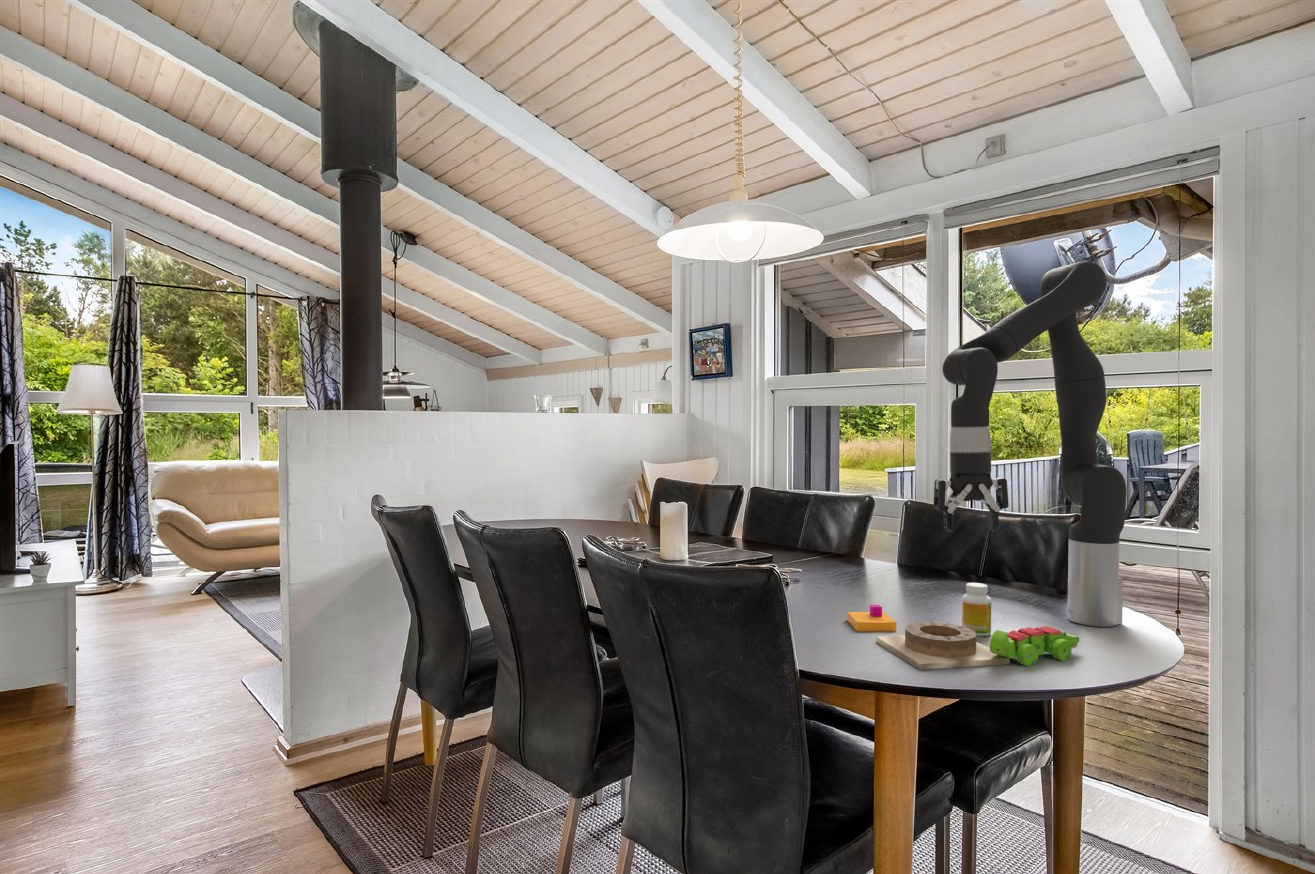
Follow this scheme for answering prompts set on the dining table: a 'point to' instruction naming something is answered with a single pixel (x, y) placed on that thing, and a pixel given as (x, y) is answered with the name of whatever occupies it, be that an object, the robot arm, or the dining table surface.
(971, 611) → the supplement bottle
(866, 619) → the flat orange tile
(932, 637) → the wooden ring
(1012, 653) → the toy crocodile
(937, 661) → the flat beige square board
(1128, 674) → the dining table surface
